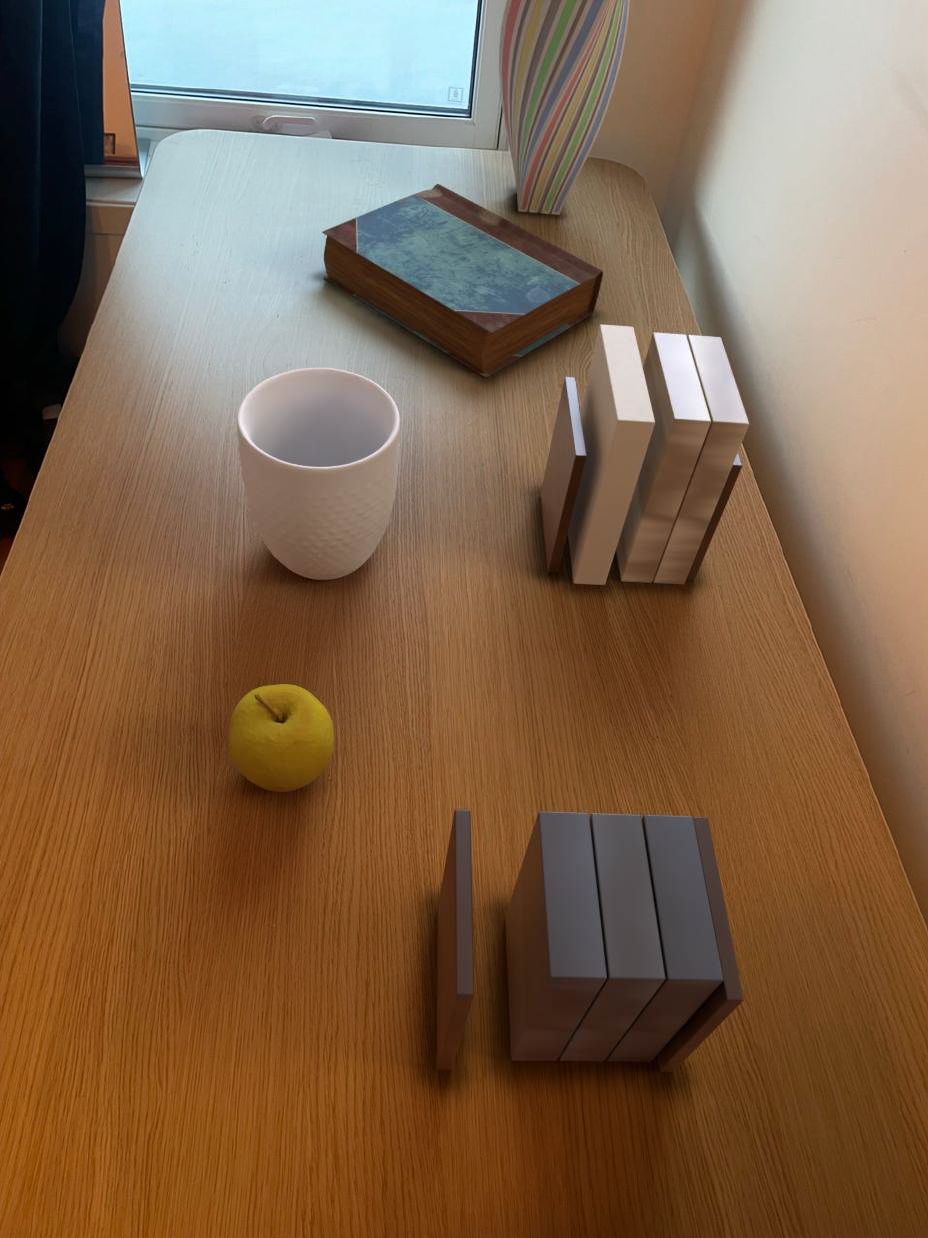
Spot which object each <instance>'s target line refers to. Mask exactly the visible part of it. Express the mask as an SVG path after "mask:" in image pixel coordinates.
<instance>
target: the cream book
mask: <svg viewBox="0 0 928 1238" xmlns="http://www.w3.org/2000/svg"><path fill="white" fill-rule="evenodd" d="M638 345H639V344H638V341H637V337H636V333H635V328H634V326H630V325H629V326H628V325H617V324H616V325H615V324H599V326H598V330H597V336H596V340H595V345H594V349H593V352H592V357H591V362H590V367H589V370H588V375H587V380H586V383H585V387H584V392H583V396H582V401H581V406H580V413H581V420H582V427H583V434H584V440H585V447H586V454H587V458H586V462H585V466H584V470H583V474H582V478H581V482H580V486H579V490H578V494H577V498H576V502H575V506H574V510H573V514H572V518H571V522H570V526H569V530H568V534H567V539H568V547H569V556H570V564H571V573H572V581H573V584H576V585H595V586H596V585H597V586H605V585H606V582H607V578H608V576H609V573H610V570H611V566H612V563H613V560H614V557H615V553H616V547H617V544H618V541H619V538H620V534H621V531H622V528H623V525H624V521H625V518H626V515H627V512H628V509H629V505H630V502H631V499H632V496H633V492H634V489H635V486H636V483H637V479H638V476H639V473H640V470H641V466H642V463H643V460H644V457H645V454H646V450H647V447H648V444H649V441H650V437H651V434H652V431H653V428H654V424H655V420H654V416H653V411H652V407H651V402H650V398H649V394H648V389H647V385H646V380H645V376H644V371H643V362H642V358H641V355H640V350H639V346H638Z"/></svg>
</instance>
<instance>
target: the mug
mask: <svg viewBox="0 0 928 1238" xmlns="http://www.w3.org/2000/svg"><path fill="white" fill-rule="evenodd" d="M236 428H237V430H236V431H237V438H238V439H237V440H238V452H239V460H240V464H239V465H240V468H241V476H242V481H243V485H244V493H245V494H244V495H245V497H246V502H247V507H248V509H249V511H250V516H251V517H250V518H252V519H251V520H252V521H253V522H254V525H255V529H256V531H257V532H258V534H259V536H260V539H261V540H262V542H263V543H264V544H265V546H266V548H267V550H268V551H269V552H270V553H271V555H272V556H273V557H274V558H275V559H276V560H278V562H280V564H282V565H283V566H284V567H285V568H287V569H288V570H290V571H291V572H293V573H295V574H297V575H298V576H301V577H304V578H307V579H312V580H317V581H325V580H326V581H328V580H336V579H340V578H342V577H345V576H347V575H350V574H352V573H354V572H355V571H357V570H358V569H359V568H361V567H362V566H363V565H364V564H365V563H366V562H367V561H368V559H369V558H371V556H372V554H373V553H374V552H376V550H377V548H378V546H379V544H380V543H381V541H382V537H383V536H384V535H385V533H386V531H387V526H388V524H389V522H390V517H391V515H392V512H393V506H394V503H395V499H396V492H397V486H398V485H397V483H398V482H397V481H398V480H397V479H398V475H399V462H400V447H401V443H400V437H401V435H400V434H401V417H400V412H399V409H398V406H397V404H396V403H395V400H394V399H393V398H392V396H391V395H390V394H389V393H388V392H387V391H386V390H385V389H384V388H383V387H382V386H380V385H379V384H378V383H376V382H375V381H373V380H371V379H370V378H367V377H366V376H364V375H361V374H357V373H355V372H351V371H348V370H344V369H338V368H332V367H306V368H297V369H292V370H288V371H284V372H281V373H279V374H275V375H273V376H270V377H268V378H267V379H264V380H263V381H261V382H259V383H258V384H257V385H255V386H254V387H253V388H252V389H251V390H250V391H249V392H248V393H247V394H246V395H245V397H244V398H243V399H242V401H241V403H240V404H239V408H238V410H237V417H236Z"/></svg>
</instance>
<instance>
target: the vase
mask: <svg viewBox="0 0 928 1238" xmlns="http://www.w3.org/2000/svg"><path fill="white" fill-rule="evenodd" d="M629 16H630V0H506V2H505V6H504V11H503V16H502V22H501V27H500V35H499V36H500V37H499V47H498V48H499V49H498V72H499V73H498V74H499V75H498V76H499V89H500V99H501V108H502V113H503V118H504V120H503V121H504V127H505V131H506V137H507V142H508V146H509V152H510V156H511V162H512V167H513V173H514V178H515V187H516V188H515V189H516V199H517V211H518V212H523V213H527V212H528V213H531V214H533V213H534V214H537V213H538V214H546V215H557V216H560V214H561V212H562V209H563V207H564V204H565V202H566V201H567V198H568V197H569V194H570V192H571V191H572V189H573V186H574V185H575V183H576V181H577V179H578V177H579V175H580V173H581V171H582V169H583V168H584V165H585V164H586V161H587V158H588V157H589V155H590V153H591V150H592V148H593V146H594V144H595V143H596V139H597V137H598V135H599V132H600V129H601V127H602V125H603V122H604V119H605V117H606V115H607V112H608V108H609V105H610V102H611V99H612V96H613V94H614V90H615V87H616V83H617V79H618V76H619V72H620V69H621V65H622V59H623V54H624V49H625V43H626V39H627V31H628V24H629Z"/></svg>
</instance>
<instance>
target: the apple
mask: <svg viewBox="0 0 928 1238" xmlns="http://www.w3.org/2000/svg"><path fill="white" fill-rule="evenodd" d="M334 742H335V731H334V723H333V720H332V717H331V715H330V712H329V711H328V710H327V707H325V706H324V705H323V704H322V702H320V700H319V699H318V698H316V697H315V696H314V695H313V694H312V693H311V691H309V690H307V689H305V688H304V687H301V686H298V685H295V684H288V683H279V684H269V685H263V686H259V687H256V688H254V689H252V690H250V691H249V692H248V693H246V694H245V695H244V696H243V697H242V698H241V699H240V700H239V702H238V703H237V705H236V706H235V708H234V710H233V713H232V715H231V718H230V722H229V735H228V754H229V758H230V759H229V760H230V761H231V762H232V764H233V766H234V767H235V768H236V769H237V770H238V771H239V772H240V774H242V775H243V776H244V777H245V778H246V779H247V780H248V782H250V783H252V784H254V785H256V786H257V787H260V788H261V789H263V790H266V791H270V792H275V793H277V792H278V793H287V792H293V791H296V790H299V789H302V788H304V787H306V786H308V785H310V784H311V783H313V782H314V781H315V780H316V779H317V778H318V777H320V776H321V775H322V774H323V772H325V770H326V768H327V767H328V765H329V763H330V761H331V759H332V756H333V752H334Z"/></svg>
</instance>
